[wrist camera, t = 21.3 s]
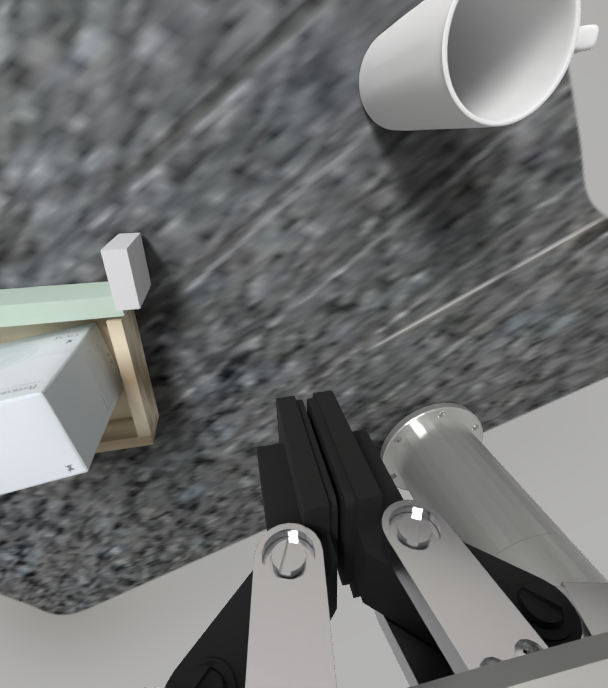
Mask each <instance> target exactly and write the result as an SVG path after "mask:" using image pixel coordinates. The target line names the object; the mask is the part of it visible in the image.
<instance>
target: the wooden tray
mask: <svg viewBox="0 0 608 688" xmlns="http://www.w3.org/2000/svg"><path fill="white" fill-rule="evenodd" d="M93 322H95V323H96V324H97V326H98V328H99V330H100V332H101V334H102V336H103V338H104V340H105V342H106V345H107V347H108V349H109V351H110V353H111V355H112V358H113V360H114V362H115V364H116V366H117V368H118V370H119V373H120V375H121V377H122V381H123V384H124V388H123V390H122V392H121V395H120V396H119V399H118V401H117V403H116V406H115V408H114V410H113V412H112V415H111V417H110V419H109V422H108V424H107V427H106V429H105V431H104V434H103V436H102V438H101V441H100V443H99V446H98V448H97V450H96V453H99V452H106V451H113V450H119V449H126V448H133V447H139V446H146V445H153V443H154V438H155V433H156V428H157V423H158V418H159V414H158V409H157V405H156V401H155V397H154V393H153V388H152V384H151V380H150V376H149V372H148V367H147V363H146V359H145V355H144V350H143V346H142V342H141V338H140V334H139V329H138V325H137V321H136V317H135V313H134V309H132V310H127V312H126V314H125V316H120V317H109V318H98V319H87V320H76V321H64V322H53V323H42V324H31V325H20V326H9V327H0V343H5V342H9V341H13V340H18V339H22V338H26V337H31V336H35V335H40V334H44V333H49V332H53V331H57V330H62V329H66V328H71V327H75V326H79V325H84V324H88V323H93Z"/></svg>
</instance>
